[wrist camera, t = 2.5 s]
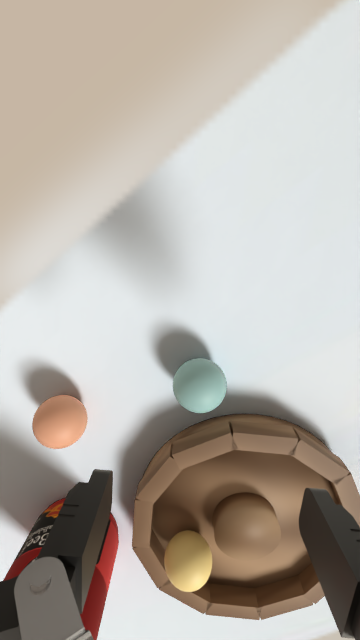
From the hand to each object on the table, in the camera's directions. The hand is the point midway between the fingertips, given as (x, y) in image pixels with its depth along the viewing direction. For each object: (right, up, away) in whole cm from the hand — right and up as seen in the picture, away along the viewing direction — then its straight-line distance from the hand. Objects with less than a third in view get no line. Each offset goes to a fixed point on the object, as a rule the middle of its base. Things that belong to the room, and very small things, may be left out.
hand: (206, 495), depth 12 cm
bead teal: (0, +3, +9) cm, 9 cm away
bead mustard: (0, -12, +11) cm, 16 cm away
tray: (+4, -9, +14) cm, 17 cm away
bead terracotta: (-10, 0, +10) cm, 14 cm away
